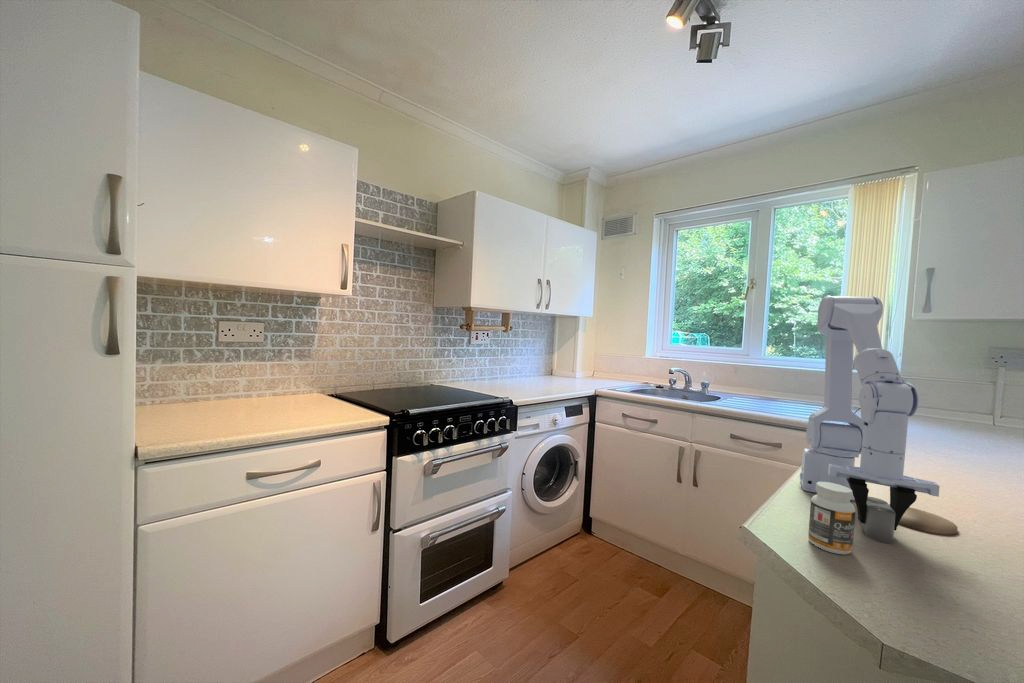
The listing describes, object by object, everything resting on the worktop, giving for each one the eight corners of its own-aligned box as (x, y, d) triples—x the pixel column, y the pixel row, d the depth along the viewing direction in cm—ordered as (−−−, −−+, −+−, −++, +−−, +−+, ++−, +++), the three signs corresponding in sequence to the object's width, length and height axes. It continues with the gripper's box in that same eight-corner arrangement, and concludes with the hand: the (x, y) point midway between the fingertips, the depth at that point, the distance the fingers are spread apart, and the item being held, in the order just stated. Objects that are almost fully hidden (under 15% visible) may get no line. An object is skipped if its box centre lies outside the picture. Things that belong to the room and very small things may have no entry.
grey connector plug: (895, 545, 68) (898, 516, 68) (868, 539, 70) (870, 510, 70) (879, 521, 77) (881, 495, 77) (855, 516, 79) (857, 490, 79)
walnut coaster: (884, 522, 77) (885, 518, 77) (871, 503, 86) (871, 499, 86) (968, 541, 71) (968, 536, 71) (944, 518, 80) (944, 514, 80)
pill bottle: (840, 559, 63) (846, 496, 62) (800, 541, 68) (805, 482, 67) (859, 551, 65) (864, 491, 65) (818, 534, 70) (823, 478, 70)
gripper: (834, 446, 73) (828, 520, 73) (949, 464, 65) (941, 547, 65) (829, 438, 79) (823, 507, 79) (933, 453, 71) (926, 530, 71)
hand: (876, 524), depth 73 cm, fingers closed on grey connector plug, 3 cm apart
